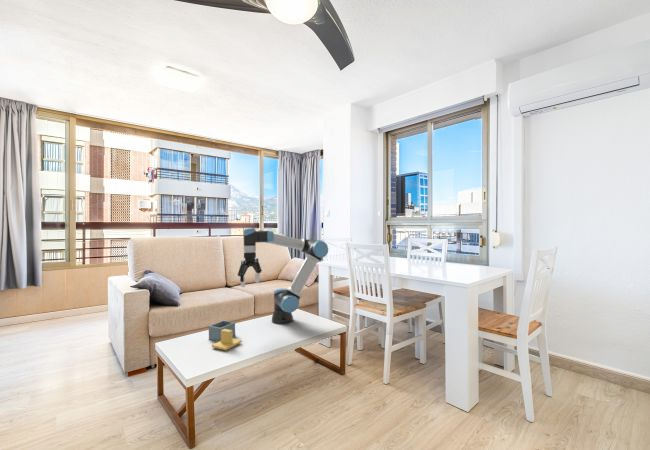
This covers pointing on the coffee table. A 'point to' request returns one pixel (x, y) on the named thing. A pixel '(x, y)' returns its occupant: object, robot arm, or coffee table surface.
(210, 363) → the coffee table surface
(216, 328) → the box
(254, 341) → the coffee table surface
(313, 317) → the coffee table surface
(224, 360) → the coffee table surface
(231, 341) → the lid
